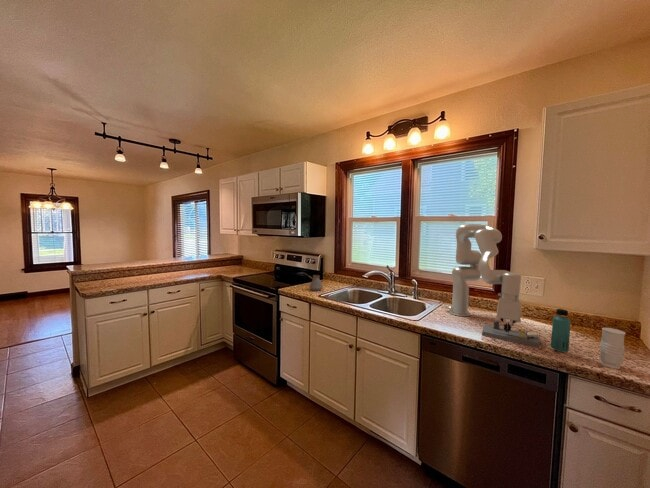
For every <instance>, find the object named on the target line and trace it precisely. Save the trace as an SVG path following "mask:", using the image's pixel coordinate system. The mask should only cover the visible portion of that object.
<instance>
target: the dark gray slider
mask: <svg viewBox="0 0 650 488" xmlns="http://www.w3.org/2000/svg"><path fill="white" fill-rule="evenodd" d="M500 321H501V320H499V319H497V320H495V319H494V320H493V326H494V328H496V329H499V327H500Z"/></svg>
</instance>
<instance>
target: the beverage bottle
mask: <svg viewBox="0 0 650 488" xmlns="http://www.w3.org/2000/svg"><path fill="white" fill-rule="evenodd" d="M555 314H556V315H555V316H553V317H552V326H551V327H552V328H551V337H550V348H551V349H553V350H555V351H559V352H562V353H566V352H569V350H570V345H571V344H570V336H571V335H570V334H571V322H572V321H571V320H570V318H569V317H568V315H569V312H568V310H566V309H562V308H557V309H556V311H555ZM566 316H567V317H566Z"/></svg>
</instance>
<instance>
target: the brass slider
mask: <svg viewBox="0 0 650 488" xmlns="http://www.w3.org/2000/svg"><path fill="white" fill-rule="evenodd" d="M518 331H519V337H520V338H524V339H525V332H526V329H525V328H519V329H518Z"/></svg>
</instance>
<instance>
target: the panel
mask: <svg viewBox="0 0 650 488" xmlns="http://www.w3.org/2000/svg"><path fill="white" fill-rule="evenodd" d="M482 327H483V328H482V332H481V333H482V336H485V337H489V338H493V339H494V338H495V339H498V340H504V341H508V342H513V343H518V344H521V345H522V344H523V345H526V344H527V345H528V346H533V347H537V348H540V347H541V342H540V339H539V337H529V336H527V332H529V331H526V332H525V339H524V338H520V337H519V330H516V329H511V331H509V333H508V332H505V330H504V327H500V326H499V329H496V328H494V325H489V324H483V326H482Z"/></svg>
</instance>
